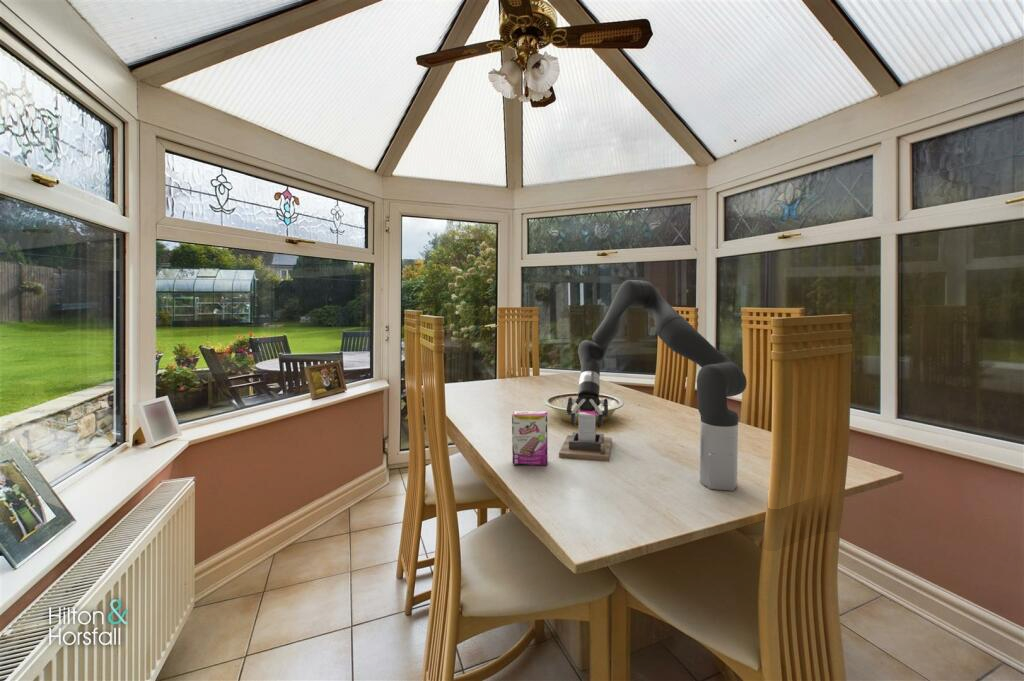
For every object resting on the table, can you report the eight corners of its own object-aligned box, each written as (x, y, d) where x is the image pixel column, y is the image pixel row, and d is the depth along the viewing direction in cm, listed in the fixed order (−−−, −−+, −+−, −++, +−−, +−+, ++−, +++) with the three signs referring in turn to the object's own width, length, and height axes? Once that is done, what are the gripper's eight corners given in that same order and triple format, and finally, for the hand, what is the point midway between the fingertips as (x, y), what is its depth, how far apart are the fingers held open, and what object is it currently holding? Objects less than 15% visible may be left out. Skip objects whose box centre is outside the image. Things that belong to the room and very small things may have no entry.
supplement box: (595, 448, 145) (595, 414, 144) (577, 446, 146) (577, 414, 145) (596, 442, 151) (596, 410, 150) (579, 441, 152) (579, 409, 151)
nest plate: (608, 461, 137) (608, 447, 136) (559, 457, 141) (558, 443, 141) (611, 441, 156) (611, 429, 156) (568, 438, 160) (567, 427, 160)
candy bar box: (512, 465, 135) (511, 414, 133) (513, 460, 140) (512, 410, 138) (548, 466, 134) (547, 414, 132) (548, 460, 138) (547, 410, 137)
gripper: (568, 379, 156) (564, 419, 146) (608, 380, 152) (606, 421, 142) (570, 391, 161) (566, 429, 151) (609, 392, 157) (607, 432, 147)
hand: (586, 425), depth 146 cm, fingers open, 8 cm apart
